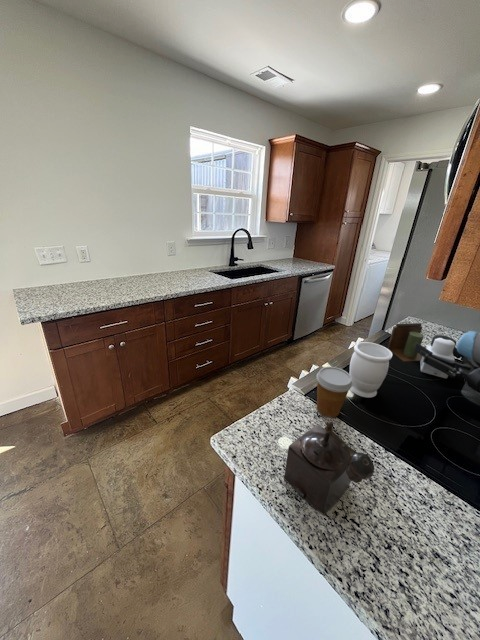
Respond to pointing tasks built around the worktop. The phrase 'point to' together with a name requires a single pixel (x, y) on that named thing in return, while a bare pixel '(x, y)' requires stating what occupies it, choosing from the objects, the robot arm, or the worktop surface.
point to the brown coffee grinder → (324, 467)
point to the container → (439, 353)
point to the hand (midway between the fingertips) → (430, 346)
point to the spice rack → (403, 340)
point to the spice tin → (412, 344)
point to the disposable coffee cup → (332, 390)
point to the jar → (368, 368)
